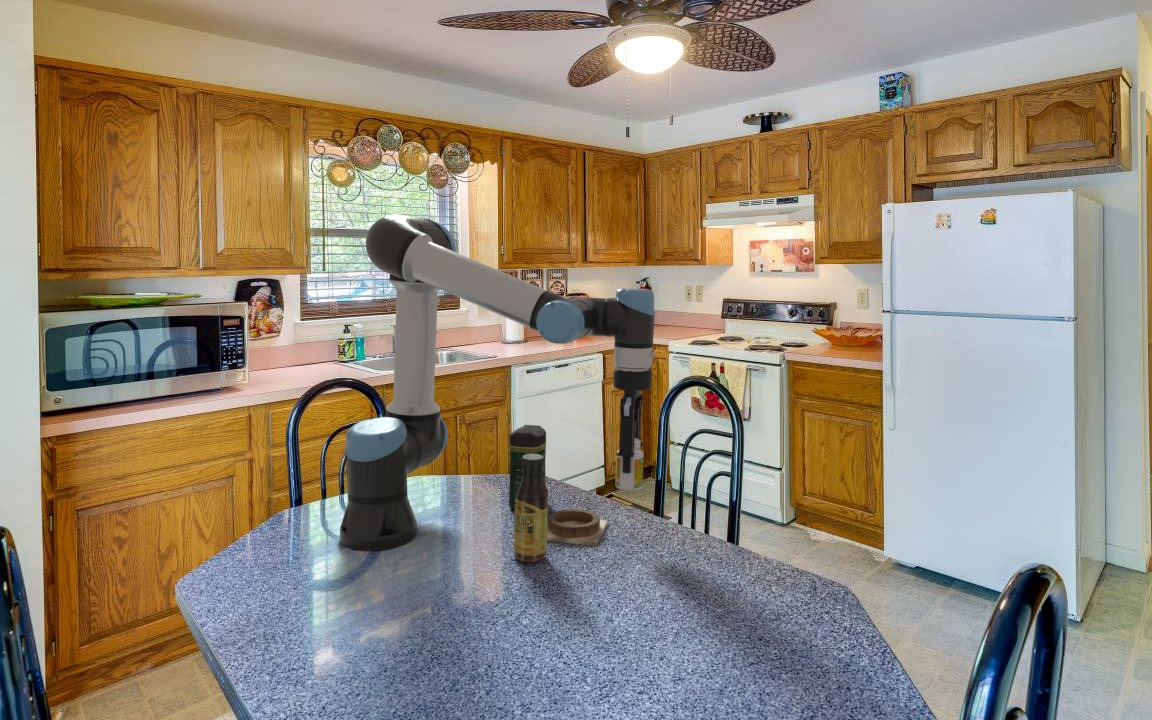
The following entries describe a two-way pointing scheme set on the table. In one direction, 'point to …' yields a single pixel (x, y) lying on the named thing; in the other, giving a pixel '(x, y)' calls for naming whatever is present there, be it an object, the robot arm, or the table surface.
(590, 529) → the collar
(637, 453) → the supplement bottle
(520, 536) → the sauce bottle
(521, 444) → the coffee jar
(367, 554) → the table surface
